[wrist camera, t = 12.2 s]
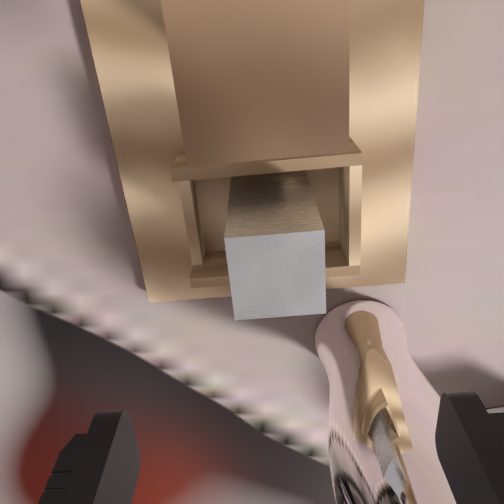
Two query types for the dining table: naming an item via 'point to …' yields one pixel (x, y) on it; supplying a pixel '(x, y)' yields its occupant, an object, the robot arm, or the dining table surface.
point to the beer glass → (378, 410)
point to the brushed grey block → (274, 247)
